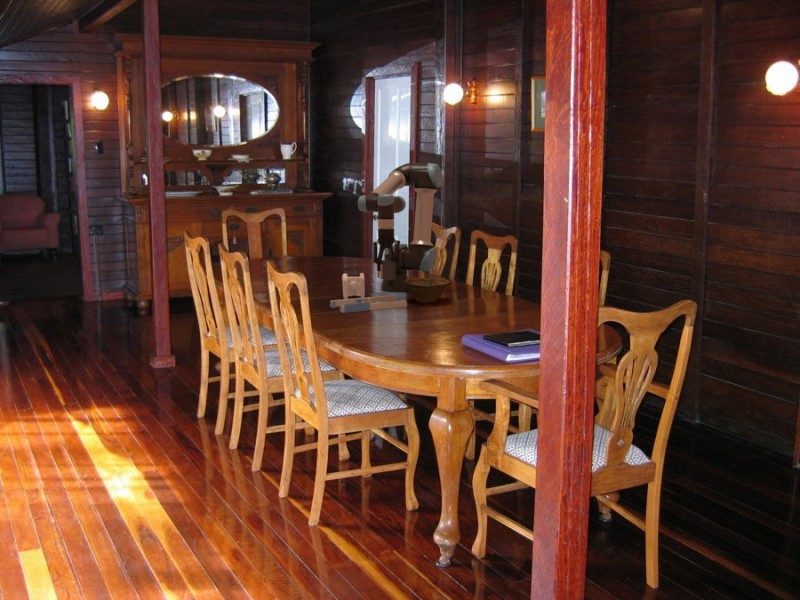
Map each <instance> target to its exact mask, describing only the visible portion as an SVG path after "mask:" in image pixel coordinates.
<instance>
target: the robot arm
mask: <svg viewBox="0 0 800 600" xmlns="http://www.w3.org/2000/svg"><path fill="white" fill-rule="evenodd" d="M442 184H443V173H442V170H441V168H440V166H439V164H436V163H431V162H407V163H405V164H402V165H400V166H397V167H395V168H394V169H393V170H391V172H389V174H388V176H387V178H386V179H384V180H383V182H381V183H380V184H379V185H378V186H377V187H376V188H375V189H374V190H372V191H371V193H369V194H368V195H365V194H364V195H360V196H359V198H358V199H357V207H358V210H359V211H360V212H366V213H377V227H378V229H377V237H378V238H377V240H376V241H372V242H371V244H372V248H373V249H372V263H374V264H376V272H378V271H379V279H381V280H382V281H381V285H380V290H381V291H385V292H391V293H395V292H396V293H397V292H398V293H399V292H401V293H402V292H407V291H409V290H408V288H407V286H406V284H405V280H407V279H409V275H408V271H415V272H430V271H432V270H433V269H434V267H435V266H436V263H437V257H438V255H437V254H438V253H437V249H435V248H434V244H433V243H432V241H431V240H432V226H433V225H432V223H433V214H434V213H433V212H434V211H433V210H434V199H435V193H437V192H438V188H440V187H441V186H442ZM404 187H414V191H415V192H416V201H415V203H416V204H415V217H414V229H413V231H414V232H413V240H412V241H411V242H410V243H409V246H408V244H407V243H401V240H398V239H396V238H395V214H397V213H398V214H399V213H401V212H403V211H404V210H405V209H406V207H407V205H406V204H407V203H406V200H405V198H404V197H402V196H400V195H399V196H398V195H395V196H394V194H395V193H396V192H397V191H398V190H400V189H403V188H404ZM378 246H379V247H378ZM378 249H379V250H378ZM383 256H384V257H383ZM382 260H390V261H393V262H395V279H394V280H383V279H382V278H383V266H382V264H381V261H382Z"/></svg>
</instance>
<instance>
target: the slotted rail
mask: <svg viewBox="0 0 800 600" xmlns="http://www.w3.org/2000/svg"><path fill="white" fill-rule="evenodd" d="M329 303H330V304H329V305H330V308H331V309H336V308H339V312H340V313H342V314H344V313H345V314H346V313H357V312H368V311H377V310H386V309H387V310H388V309H396V308H397V309H400V308H407V304H408V303H407V300H406V299H401V300H397V296H396V295H393V294H391V295H379V296H370V297H369V296H368V297H365V298H361V297H357V298H348V299H344V298H343V299H334V300H330V301H329Z"/></svg>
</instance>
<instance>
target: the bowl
mask: <svg viewBox="0 0 800 600" xmlns="http://www.w3.org/2000/svg"><path fill="white" fill-rule="evenodd" d="M405 284H406V286H407V288H408V291H409V293H410V295H411V296H412V297H413V298H414V300H415V301H416V302H417V303H422V304H423V303H424V304H429V303H430V304H431V303H435V302H436V301H438V300H439V298H440V297H441V296H442V294H443V293H444V292H445V291H446V290H447V288H448V286H449V284H450V281H449V280H448V279H446V278H438V277H437V278H436V277H430V278H429V277H428V278H427V277H423V278H421V277H420V278H418V277H417V278H416V277H412V278H408V279H407V280H405Z"/></svg>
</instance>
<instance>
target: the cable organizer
mask: <svg viewBox="0 0 800 600" xmlns="http://www.w3.org/2000/svg"><path fill="white" fill-rule="evenodd" d="M341 280H342V296H343V299H349V297H352V296H354V297H355V296H357V298H359V297H360V298H366V297H365V295H366V293H365V290H366V289H365V288H366V287H365V286H366V282H365V274H364V273H363V272H361V273H359V276H348V273H342V275H341Z"/></svg>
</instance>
